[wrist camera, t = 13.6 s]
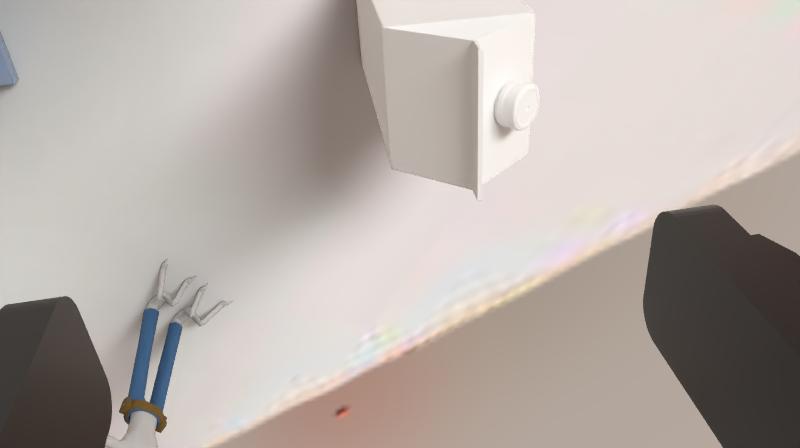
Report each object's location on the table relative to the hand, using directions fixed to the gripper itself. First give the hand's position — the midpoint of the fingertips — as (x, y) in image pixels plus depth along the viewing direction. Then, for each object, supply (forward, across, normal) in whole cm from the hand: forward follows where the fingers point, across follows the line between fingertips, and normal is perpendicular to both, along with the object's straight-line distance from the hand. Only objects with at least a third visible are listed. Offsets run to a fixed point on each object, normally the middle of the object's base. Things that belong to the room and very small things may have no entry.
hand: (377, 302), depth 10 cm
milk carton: (+38, -6, +7) cm, 39 cm away
